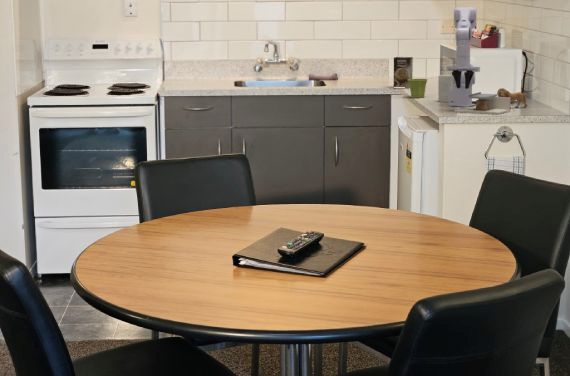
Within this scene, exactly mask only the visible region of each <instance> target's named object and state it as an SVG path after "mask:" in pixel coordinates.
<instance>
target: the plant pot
mask: <svg viewBox="0 0 570 376" xmlns="http://www.w3.org/2000/svg"><path fill="white" fill-rule="evenodd" d="M408 81H409V84H410V96H411V98H413V99H416V98H417V99H422V98H425V93H426V87H427V83H428V78H412V79H408Z"/></svg>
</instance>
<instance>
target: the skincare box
mask: <svg viewBox="0 0 570 376" xmlns="http://www.w3.org/2000/svg"><path fill="white" fill-rule="evenodd" d="M452 77H453V75H452V74H440V75H438V79H437V80H438V82H437V83H438V85H437V87H438V92H437V94H438V98H437V99H438V102H442V103H449V92H450V88H451V86H455V85H454V84H453V82H452Z"/></svg>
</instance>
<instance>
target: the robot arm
mask: <svg viewBox="0 0 570 376" xmlns="http://www.w3.org/2000/svg"><path fill="white" fill-rule="evenodd" d="M453 25H454V27H455V46H456V49H455V50H456V52H455V53H456V54H455V55H456V56H455V58H456V60H455V63H456V64H455V65H454V66H453V65H447V66H446V67H445V69H446V72H451V75H453V77H452V82H453V84H454V86H451V88H450V92H449V102H448V103H449V104H448V106H449V107H460V108H463V107H474V106H476V103H473V98H469V95H470V94H473V85H475V84H476V73H480V72H481V67H480V66H474V65H473V64H471V41H472V29H474V28H476V25H477V7H476V6H460V7H459V6H458V7H457V6H455V7H454V8H453Z"/></svg>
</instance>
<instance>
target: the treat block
mask: <svg viewBox="0 0 570 376" xmlns="http://www.w3.org/2000/svg"><path fill="white" fill-rule="evenodd" d="M475 107H476V110H479V111H487V110H489V100H486V99H479V100H478V99H476V100H475Z"/></svg>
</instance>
